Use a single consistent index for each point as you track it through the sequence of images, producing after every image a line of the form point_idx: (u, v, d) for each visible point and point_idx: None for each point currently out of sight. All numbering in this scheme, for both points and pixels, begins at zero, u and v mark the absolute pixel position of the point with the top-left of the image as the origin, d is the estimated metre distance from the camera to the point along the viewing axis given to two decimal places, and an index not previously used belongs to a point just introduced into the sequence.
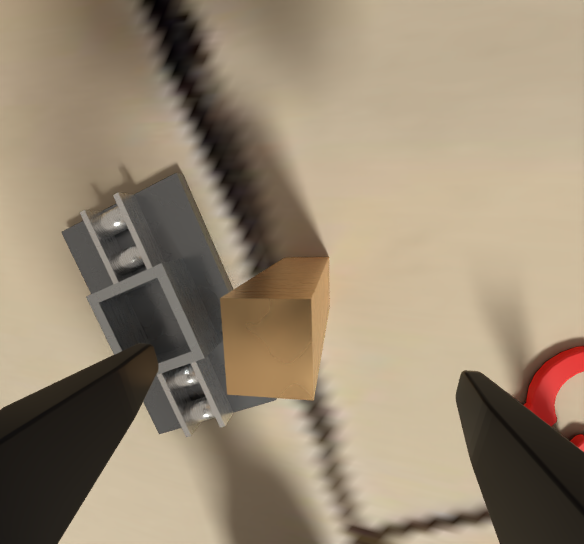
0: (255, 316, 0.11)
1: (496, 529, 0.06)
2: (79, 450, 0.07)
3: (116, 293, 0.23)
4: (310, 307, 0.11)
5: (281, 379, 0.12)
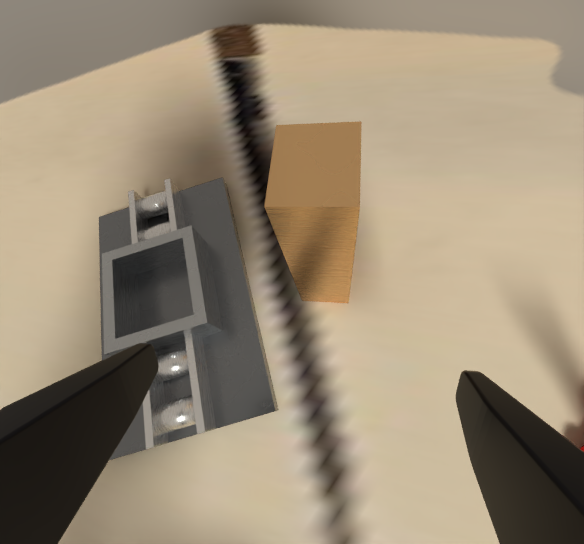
0: (307, 136, 0.12)
1: (496, 529, 0.06)
2: (79, 450, 0.07)
3: (134, 251, 0.22)
4: (360, 126, 0.12)
5: (325, 188, 0.11)
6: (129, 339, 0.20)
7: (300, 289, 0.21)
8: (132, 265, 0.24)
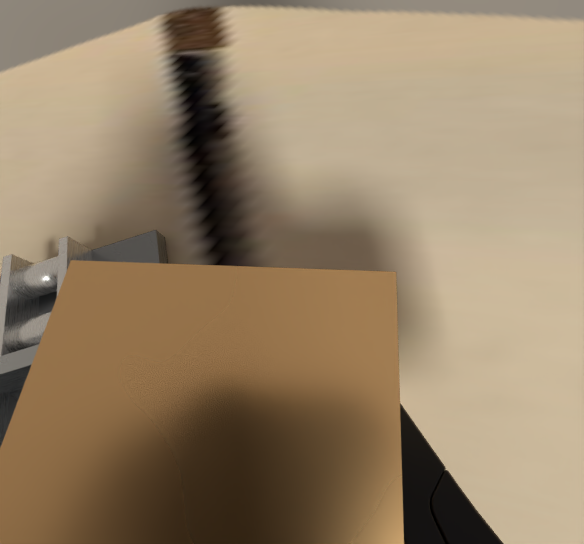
0: (167, 328, 0.03)
1: None
2: None
3: None
4: (393, 302, 0.03)
5: None
6: None
7: None
8: None
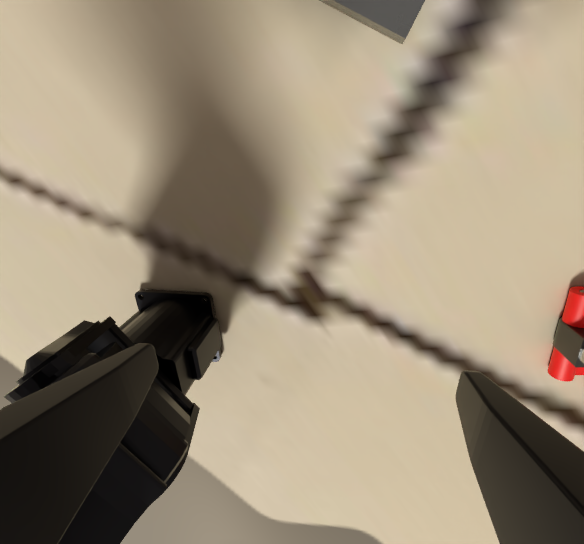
0: None
1: (496, 529, 0.06)
2: (79, 450, 0.07)
3: None
4: None
5: None
6: None
7: None
8: None
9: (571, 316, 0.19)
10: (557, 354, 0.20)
